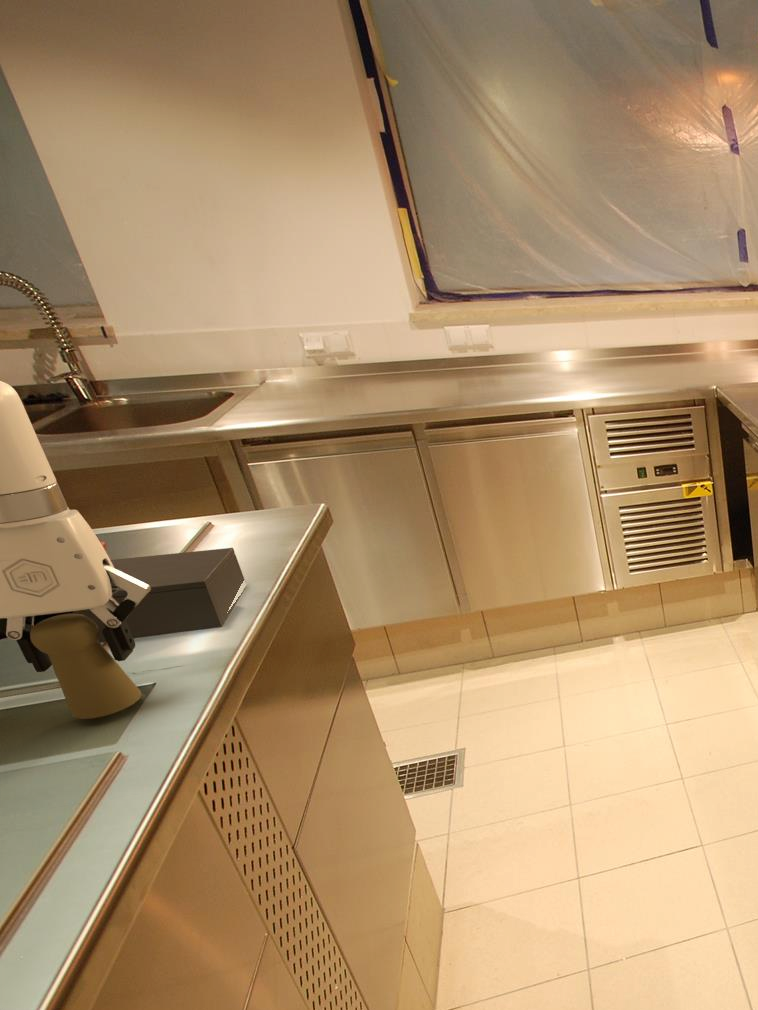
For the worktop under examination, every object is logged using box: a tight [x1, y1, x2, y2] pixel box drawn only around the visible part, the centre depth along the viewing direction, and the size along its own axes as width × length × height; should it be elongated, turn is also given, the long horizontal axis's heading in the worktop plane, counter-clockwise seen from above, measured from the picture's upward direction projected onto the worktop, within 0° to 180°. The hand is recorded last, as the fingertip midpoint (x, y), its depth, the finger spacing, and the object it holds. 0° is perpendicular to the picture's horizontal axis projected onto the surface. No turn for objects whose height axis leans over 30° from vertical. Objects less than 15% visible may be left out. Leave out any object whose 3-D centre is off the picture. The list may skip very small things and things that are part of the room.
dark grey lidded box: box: [72, 552, 246, 644], centre depth 116 cm, size 14×15×7 cm
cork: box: [30, 613, 142, 720], centre depth 93 cm, size 6×6×11 cm
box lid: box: [98, 539, 236, 597], centre depth 113 cm, size 15×15×5 cm
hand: (86, 660), depth 94 cm, fingers open, 5 cm apart
